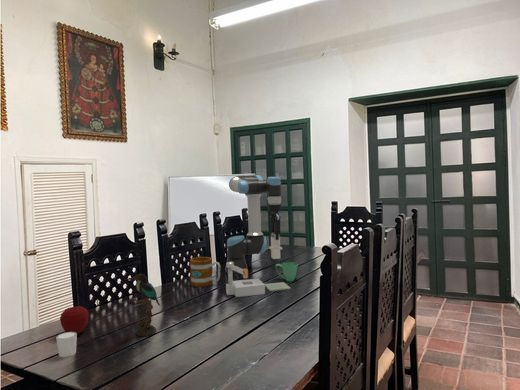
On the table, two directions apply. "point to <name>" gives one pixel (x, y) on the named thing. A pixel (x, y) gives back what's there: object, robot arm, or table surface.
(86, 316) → the apple
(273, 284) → the mat
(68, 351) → the shot glass
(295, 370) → the table surface
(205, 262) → the mug
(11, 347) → the table surface
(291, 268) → the mug
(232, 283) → the socket
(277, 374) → the table surface
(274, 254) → the plug
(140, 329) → the sculpture
